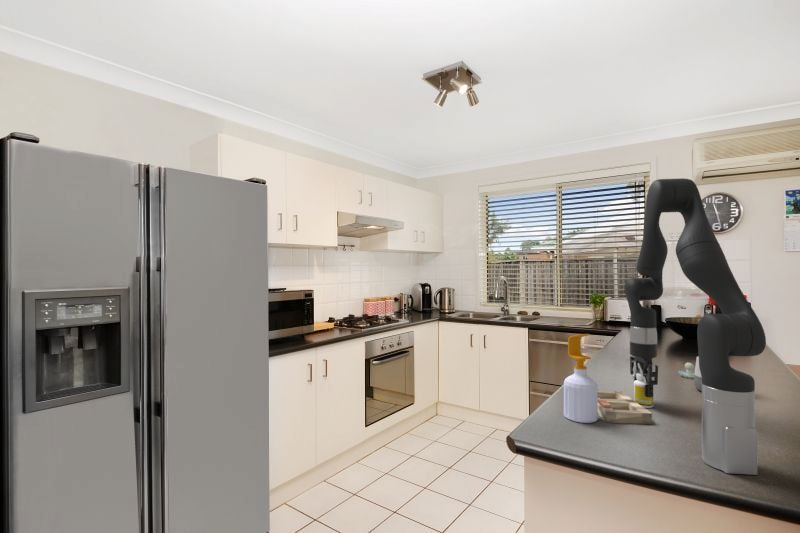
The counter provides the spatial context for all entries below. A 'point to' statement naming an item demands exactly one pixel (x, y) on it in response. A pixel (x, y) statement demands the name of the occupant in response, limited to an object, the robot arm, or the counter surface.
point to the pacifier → (688, 371)
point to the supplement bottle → (641, 393)
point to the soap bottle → (580, 387)
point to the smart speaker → (698, 376)
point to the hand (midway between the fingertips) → (643, 393)
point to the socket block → (621, 408)
